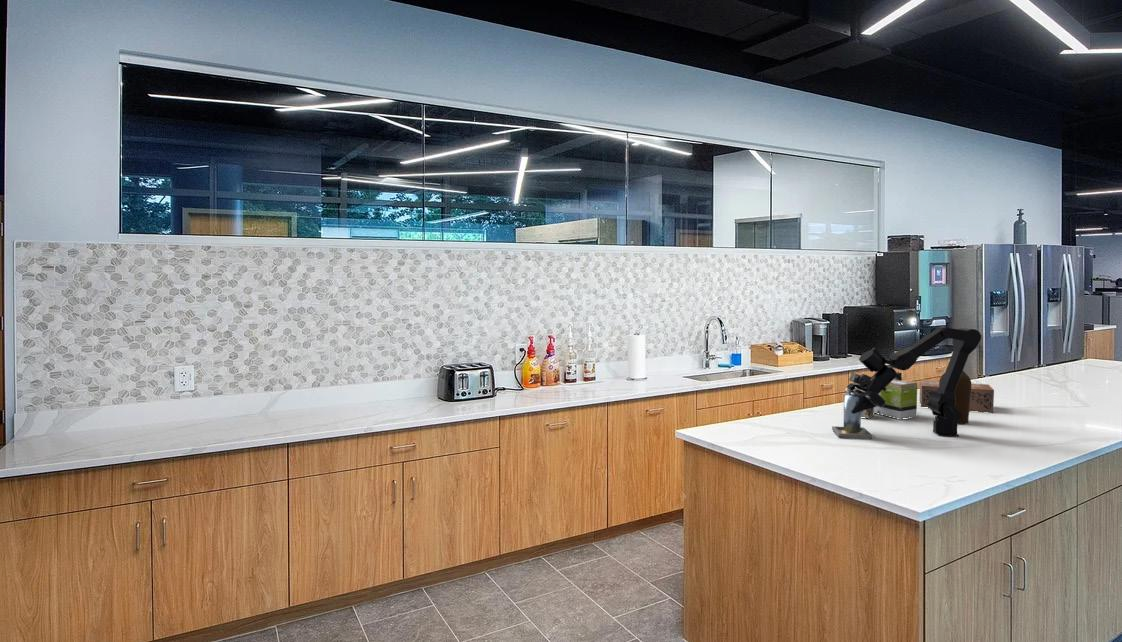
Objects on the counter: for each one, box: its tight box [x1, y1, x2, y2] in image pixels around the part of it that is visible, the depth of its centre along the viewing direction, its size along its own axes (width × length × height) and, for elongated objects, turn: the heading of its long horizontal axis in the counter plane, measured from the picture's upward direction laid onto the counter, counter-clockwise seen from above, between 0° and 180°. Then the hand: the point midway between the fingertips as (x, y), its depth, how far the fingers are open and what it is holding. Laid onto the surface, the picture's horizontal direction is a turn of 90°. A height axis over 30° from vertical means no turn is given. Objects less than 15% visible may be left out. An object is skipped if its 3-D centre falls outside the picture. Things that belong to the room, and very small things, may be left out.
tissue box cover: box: [918, 380, 995, 414], centre depth 266 cm, size 26×14×10 cm, turn 63°
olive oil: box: [938, 370, 972, 425], centre depth 240 cm, size 11×11×25 cm
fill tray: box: [831, 425, 873, 440], centre depth 223 cm, size 11×11×2 cm
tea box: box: [874, 379, 918, 419], centre depth 252 cm, size 15×10×15 cm, turn 25°
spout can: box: [843, 387, 862, 432], centre depth 222 cm, size 6×6×16 cm
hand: (848, 411), depth 222 cm, fingers closed on spout can, 5 cm apart
